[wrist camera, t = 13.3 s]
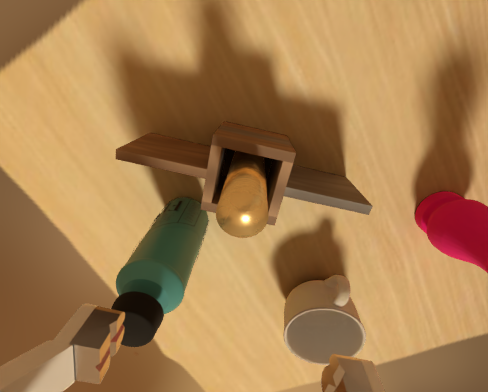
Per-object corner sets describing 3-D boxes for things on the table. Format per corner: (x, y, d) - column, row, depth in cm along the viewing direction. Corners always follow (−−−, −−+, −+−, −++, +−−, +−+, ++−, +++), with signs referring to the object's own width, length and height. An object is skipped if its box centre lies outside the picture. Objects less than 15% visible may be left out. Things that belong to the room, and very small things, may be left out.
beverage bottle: (191, 182, 37) (124, 283, 19) (221, 217, 39) (188, 341, 20) (156, 207, 39) (65, 322, 20) (187, 240, 41) (128, 372, 22)
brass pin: (253, 137, 34) (250, 180, 19) (269, 163, 35) (278, 222, 21) (227, 154, 35) (205, 207, 20) (244, 179, 36) (234, 245, 22)
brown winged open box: (152, 104, 33) (116, 112, 25) (355, 151, 34) (387, 173, 26) (147, 166, 36) (114, 191, 28) (334, 207, 37) (355, 243, 29)
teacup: (325, 329, 46) (338, 376, 39) (268, 307, 45) (270, 351, 38) (373, 269, 41) (398, 311, 34) (310, 243, 40) (322, 280, 32)
